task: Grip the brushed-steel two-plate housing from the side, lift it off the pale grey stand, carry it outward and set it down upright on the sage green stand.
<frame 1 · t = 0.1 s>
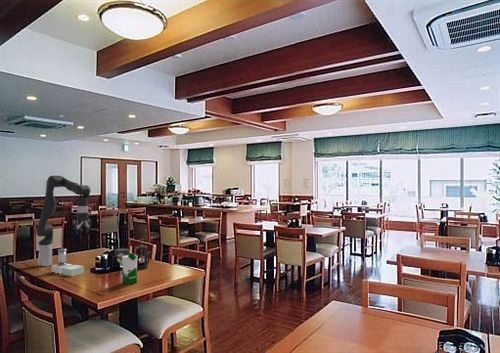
hand: (82, 233, 266), 29 cm above the table, tool pointing down, fingers open, 8 cm apart
housing: (62, 265, 267), point 5 cm above the table, touching stand a
stand a: (62, 271, 267), on the table
french press: (142, 268, 278), on the table
stand b: (73, 273, 261), on the table
coffee can: (121, 267, 280), on the table
milk carton: (129, 283, 239), on the table
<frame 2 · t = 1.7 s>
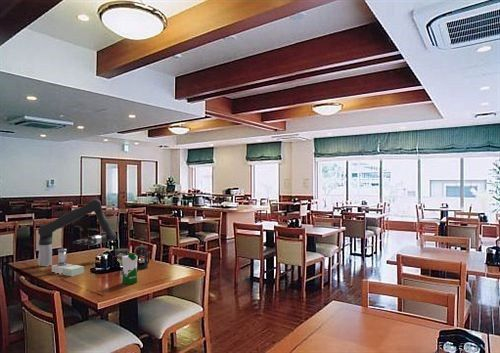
hand: (76, 243, 278), 19 cm above the table, tool horizontal, fingers open, 8 cm apart
nothing on the table moved.
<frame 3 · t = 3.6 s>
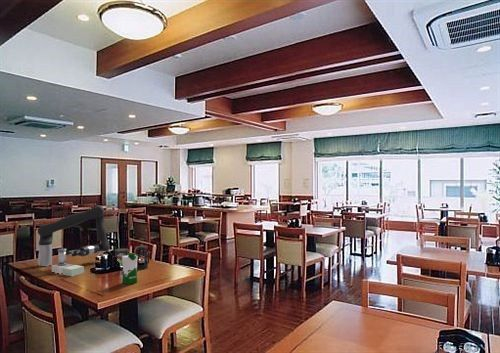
hand: (68, 254, 272), 12 cm above the table, tool horizontal, fingers open, 8 cm apart
nothing on the table moved.
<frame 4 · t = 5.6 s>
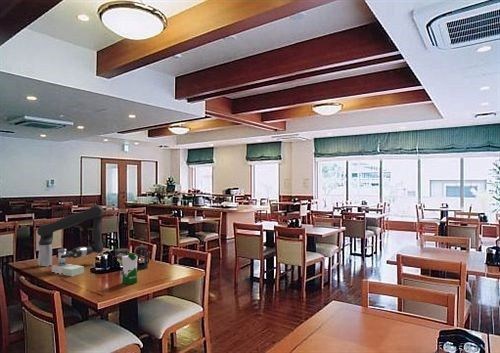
hand: (59, 256, 265), 12 cm above the table, tool horizontal, fingers closed on housing, 5 cm apart
housing: (62, 265, 267), point 5 cm above the table, touching gripper, stand a
everything else where it was.
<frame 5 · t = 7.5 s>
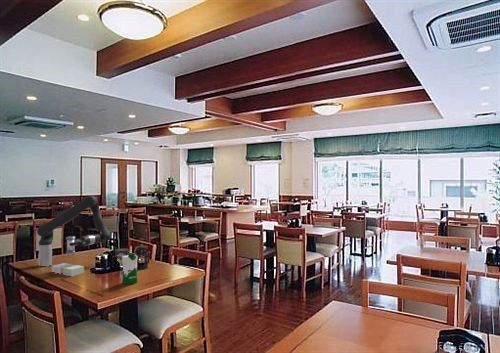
hand: (67, 244, 261), 22 cm above the table, tool horizontal, fingers closed on housing, 5 cm apart
housing: (70, 253, 263), point 15 cm above the table, touching gripper
everything else where it was.
when the fingers open (13 cm above the table, at t = 9.8 s): housing drops 1 cm, resting on stand b.
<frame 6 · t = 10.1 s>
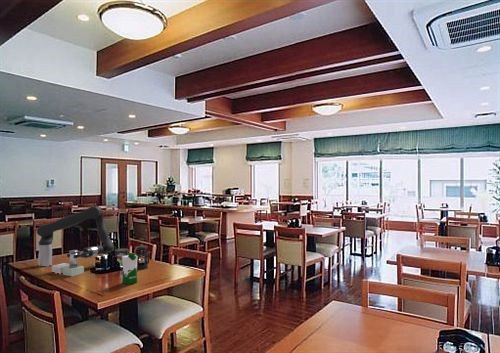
hand: (70, 256, 259), 13 cm above the table, tool horizontal, fingers open, 7 cm apart
housing: (73, 267, 261), point 5 cm above the table, touching stand b
everything else where it was.
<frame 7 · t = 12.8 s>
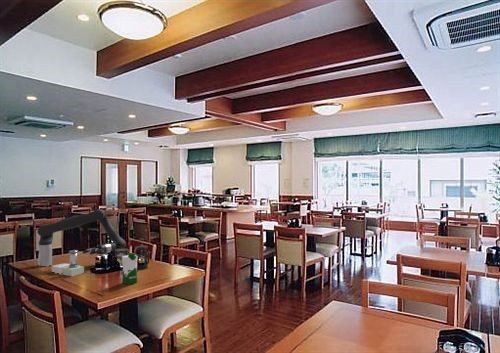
hand: (86, 252, 271), 14 cm above the table, tool horizontal, fingers open, 8 cm apart
nothing on the table moved.
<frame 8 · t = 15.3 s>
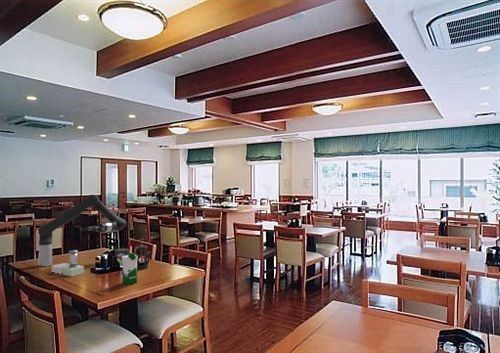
hand: (87, 230, 278), 30 cm above the table, tool horizontal, fingers open, 8 cm apart
nothing on the table moved.
at the end: housing 0.1 cm off-centre on the stand b, point 5.0 cm above the stand b's base; housing tilted 0°; the gripper is holding nothing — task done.
